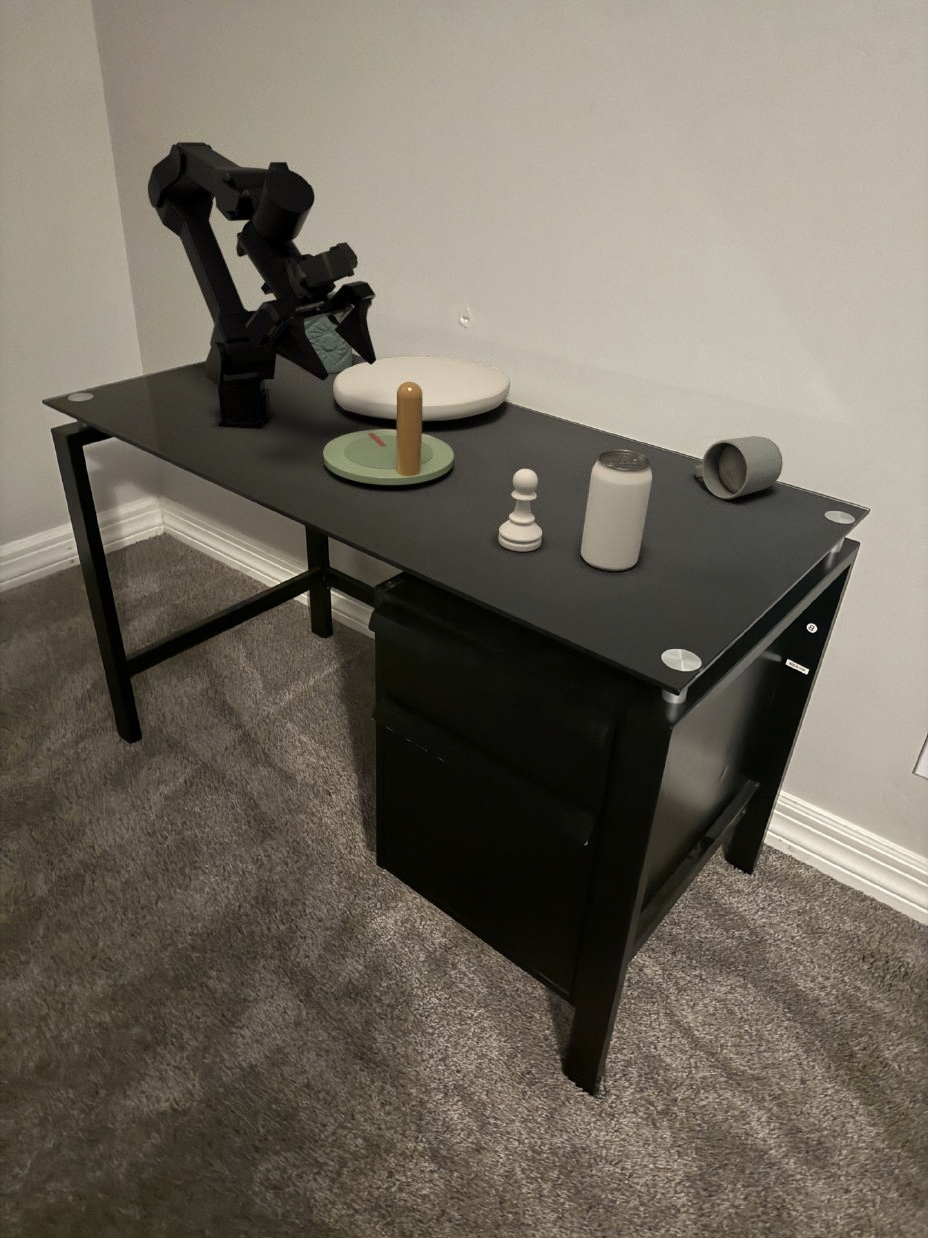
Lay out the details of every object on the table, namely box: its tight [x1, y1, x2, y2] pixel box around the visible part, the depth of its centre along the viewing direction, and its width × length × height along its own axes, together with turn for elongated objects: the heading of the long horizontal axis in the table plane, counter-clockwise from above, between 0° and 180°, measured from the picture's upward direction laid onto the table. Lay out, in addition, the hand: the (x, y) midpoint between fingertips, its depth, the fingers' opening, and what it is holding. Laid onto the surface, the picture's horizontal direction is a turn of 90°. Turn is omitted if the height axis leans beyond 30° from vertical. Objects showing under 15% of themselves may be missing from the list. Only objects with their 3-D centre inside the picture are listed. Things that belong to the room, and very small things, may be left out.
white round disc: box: [332, 355, 511, 422], centre depth 139 cm, size 28×6×27 cm
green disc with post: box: [322, 382, 455, 486], centre depth 115 cm, size 18×18×13 cm
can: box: [580, 449, 653, 572], centre depth 96 cm, size 6×6×12 cm
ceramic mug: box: [694, 435, 784, 500], centre depth 116 cm, size 11×8×8 cm
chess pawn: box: [497, 468, 543, 553], centre depth 99 cm, size 5×5×9 cm
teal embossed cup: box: [304, 290, 353, 374], centre depth 153 cm, size 10×10×12 cm
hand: (350, 370), depth 110 cm, fingers open, 9 cm apart
